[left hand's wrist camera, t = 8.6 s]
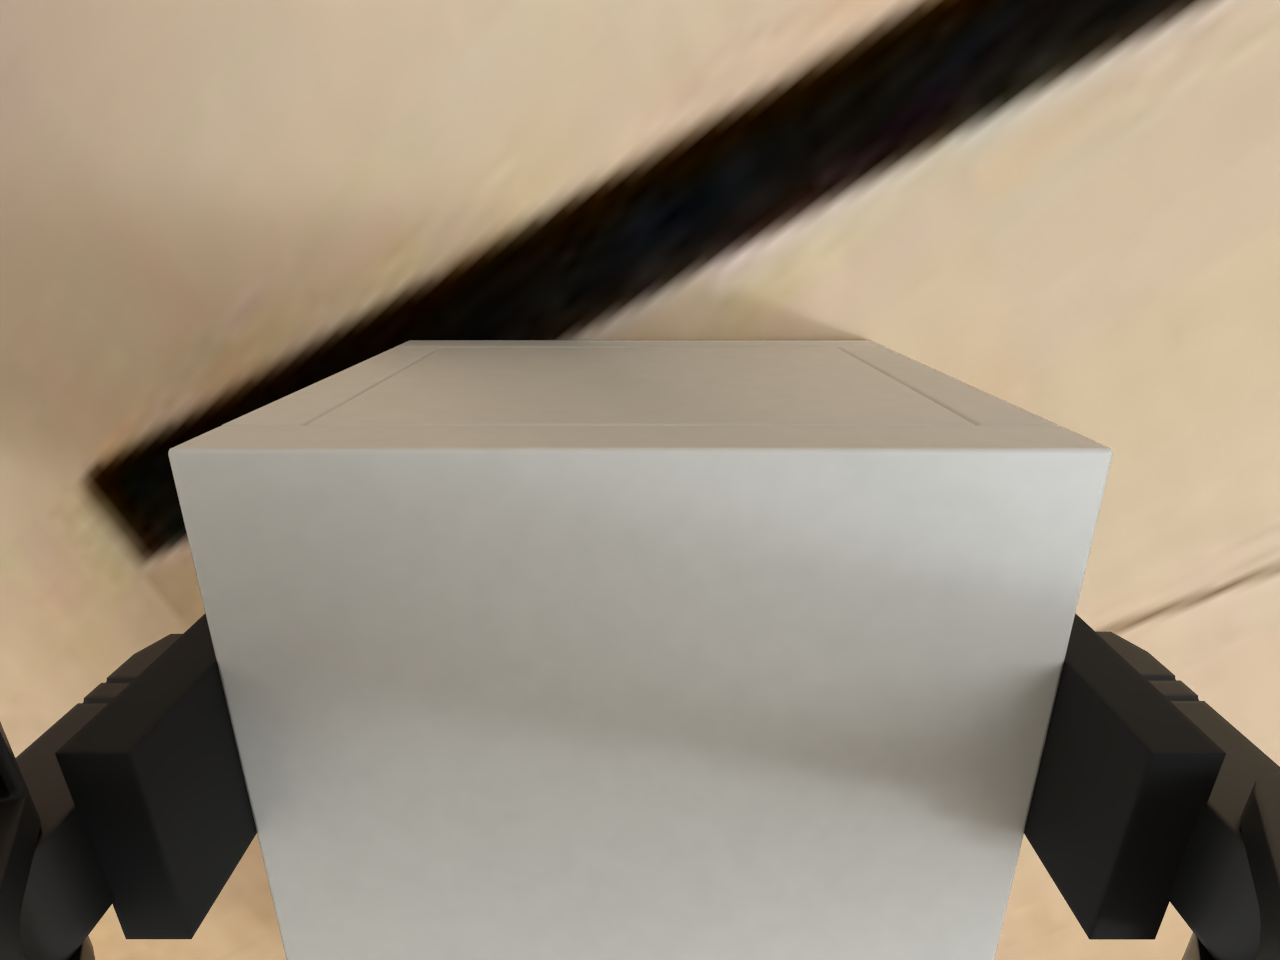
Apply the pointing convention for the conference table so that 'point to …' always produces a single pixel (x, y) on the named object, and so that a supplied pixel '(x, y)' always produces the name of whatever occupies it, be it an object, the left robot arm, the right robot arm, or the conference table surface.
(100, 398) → the conference table surface
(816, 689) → the cabinet
